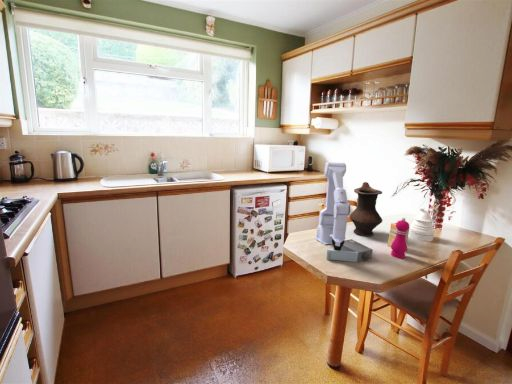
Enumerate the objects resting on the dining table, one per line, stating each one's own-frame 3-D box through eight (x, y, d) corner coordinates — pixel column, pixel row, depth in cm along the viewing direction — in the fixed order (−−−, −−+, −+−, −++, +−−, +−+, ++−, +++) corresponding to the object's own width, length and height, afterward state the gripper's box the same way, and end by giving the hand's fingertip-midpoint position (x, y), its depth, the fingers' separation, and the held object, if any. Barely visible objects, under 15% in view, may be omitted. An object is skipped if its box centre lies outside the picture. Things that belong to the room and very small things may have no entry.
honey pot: (410, 239, 168) (415, 209, 164) (406, 232, 180) (411, 204, 176) (435, 243, 164) (441, 212, 160) (429, 235, 176) (434, 207, 173)
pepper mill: (397, 259, 140) (403, 220, 136) (386, 253, 147) (392, 215, 142) (409, 258, 142) (415, 219, 138) (398, 252, 149) (404, 215, 145)
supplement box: (386, 245, 157) (390, 222, 154) (393, 244, 159) (397, 222, 156) (399, 251, 150) (403, 227, 147) (406, 250, 151) (410, 227, 148)
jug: (383, 240, 164) (391, 189, 157) (350, 237, 167) (356, 186, 160) (374, 228, 184) (381, 182, 178) (345, 225, 187) (350, 180, 180)
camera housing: (335, 249, 148) (337, 241, 147) (350, 247, 153) (351, 238, 152) (358, 262, 135) (359, 252, 134) (373, 259, 139) (374, 249, 138)
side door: (326, 260, 135) (327, 251, 134) (326, 258, 137) (327, 249, 136) (357, 263, 134) (358, 254, 133) (356, 260, 136) (357, 252, 135)
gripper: (332, 221, 142) (329, 247, 145) (329, 231, 129) (326, 259, 132) (346, 223, 140) (343, 249, 143) (346, 233, 127) (342, 262, 130)
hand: (336, 254), depth 138 cm, fingers closed
